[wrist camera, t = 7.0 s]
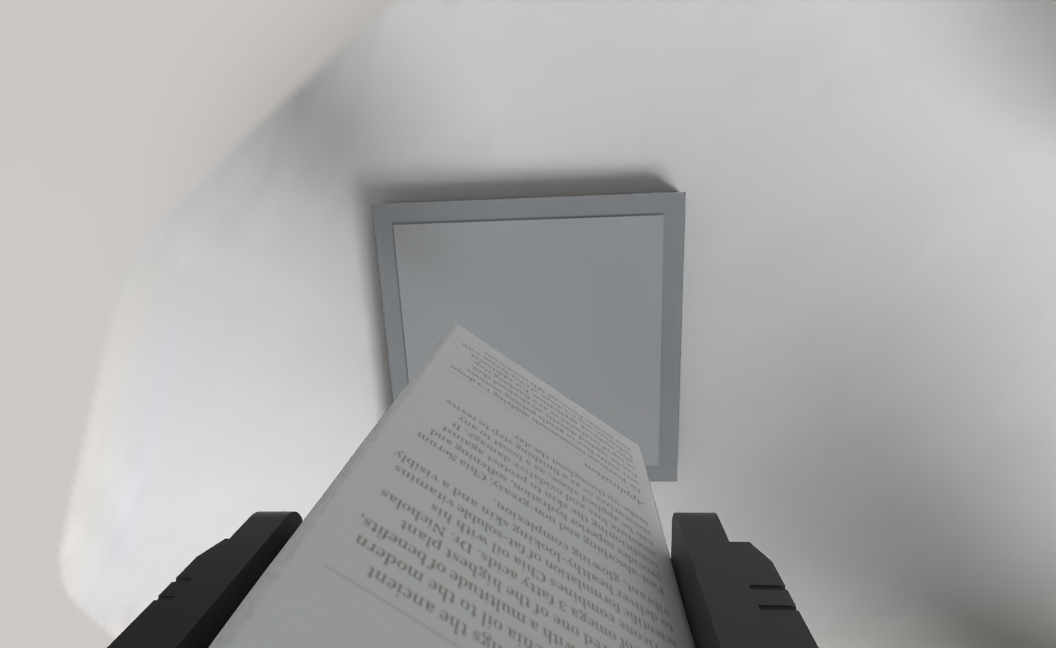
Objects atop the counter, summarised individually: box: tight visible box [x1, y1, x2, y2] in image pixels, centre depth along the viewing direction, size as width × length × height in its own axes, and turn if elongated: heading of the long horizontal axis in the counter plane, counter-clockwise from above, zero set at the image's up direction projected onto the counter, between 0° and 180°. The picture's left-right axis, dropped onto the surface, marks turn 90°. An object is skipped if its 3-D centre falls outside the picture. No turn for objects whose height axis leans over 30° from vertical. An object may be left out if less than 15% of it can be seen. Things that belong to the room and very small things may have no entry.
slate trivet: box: [372, 192, 686, 481], centre depth 23 cm, size 12×12×1 cm
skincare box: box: [209, 324, 695, 648], centre depth 9 cm, size 6×4×12 cm
